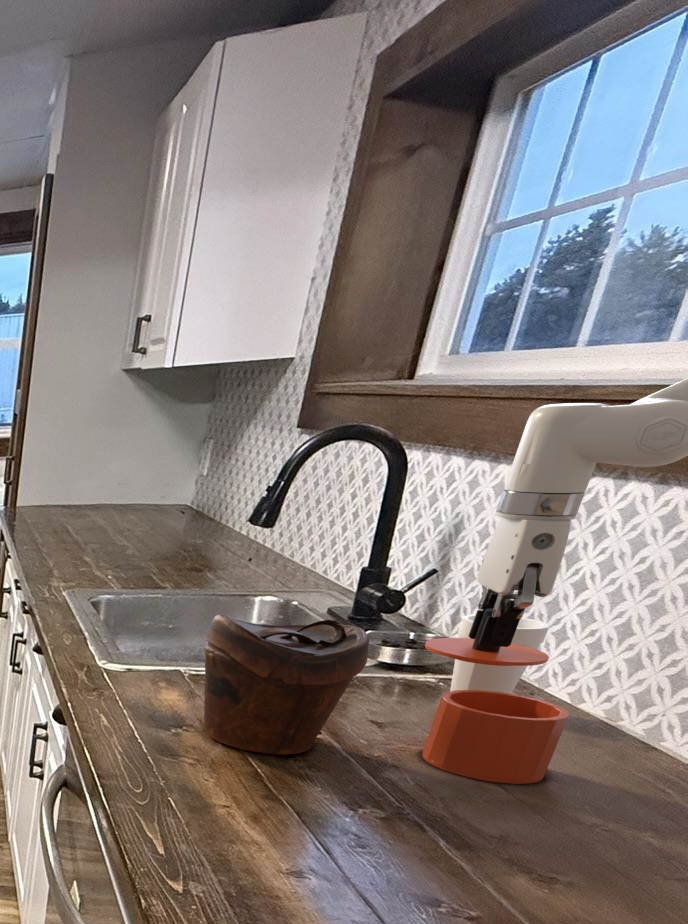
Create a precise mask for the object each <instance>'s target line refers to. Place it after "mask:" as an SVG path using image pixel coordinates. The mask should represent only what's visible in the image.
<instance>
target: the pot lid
mask: <svg viewBox="0 0 688 924" xmlns="http://www.w3.org/2000/svg"><path fill="white" fill-rule="evenodd" d="M493 609H494V608H488V609H485V612H484V615H483V618H482V621H481V623H480V626H479V629H478V632H477V635H476V637H475V639H471V638H459V637H437V638H431V639H428V640H426V641H425V644H424V648H425V649H426V650H428V651H429V652H432V653H434V654H437V655H441V656H443V657H448V658H450V659H454V660H455V659H457V660H461V661H466V662H471V663H477V664H485V665H496V666H527V667H529V666H539V665H544V664H546V663H548V662H549V659H550V655H548V654H547V653H546V652H544V651H541V650H538V649H537V650H536V649H533V648H529V647H525V646H521V645H516V644H511V645H510V646H508V647H499V646H484V645H480V644H479V643H478V642H479V639H480V636H481V633H482V630H483V628H484V625H485V622H486V619H487V617H488V616H492V612H493Z"/></svg>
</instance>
